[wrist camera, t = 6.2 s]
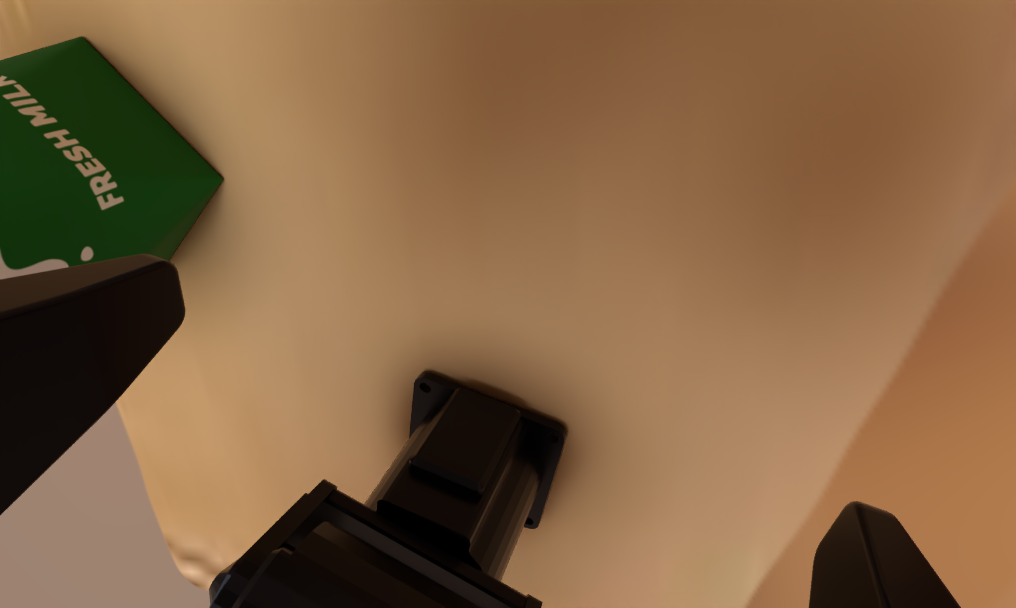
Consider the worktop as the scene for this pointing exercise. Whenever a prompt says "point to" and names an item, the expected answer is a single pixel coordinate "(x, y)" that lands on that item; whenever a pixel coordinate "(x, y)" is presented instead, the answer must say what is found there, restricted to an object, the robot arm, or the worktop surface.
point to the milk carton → (88, 166)
